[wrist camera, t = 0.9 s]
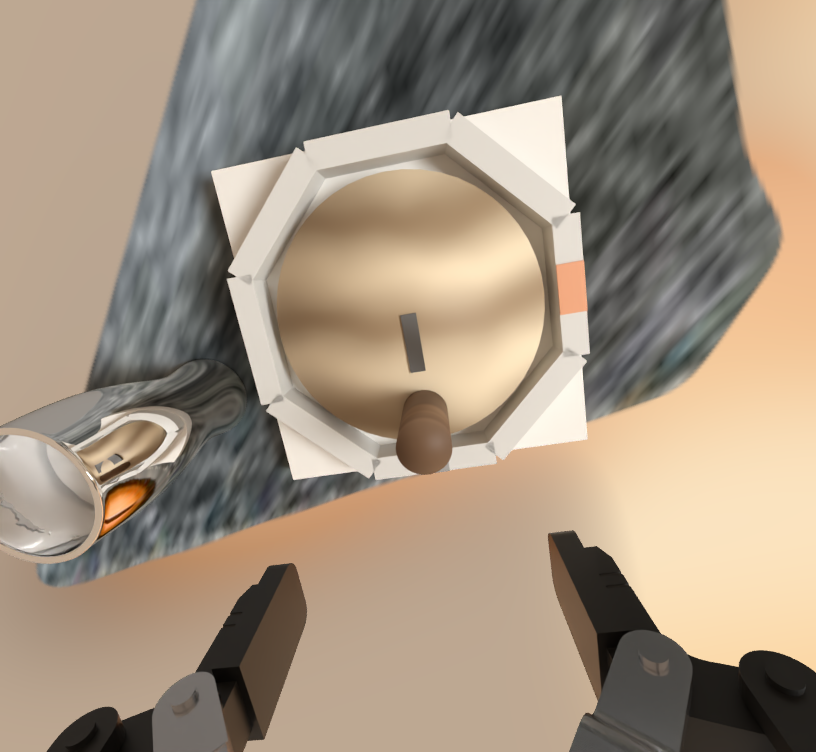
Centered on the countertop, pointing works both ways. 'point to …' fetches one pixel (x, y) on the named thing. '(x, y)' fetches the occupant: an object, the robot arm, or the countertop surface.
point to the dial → (411, 308)
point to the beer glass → (106, 456)
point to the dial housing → (456, 156)
